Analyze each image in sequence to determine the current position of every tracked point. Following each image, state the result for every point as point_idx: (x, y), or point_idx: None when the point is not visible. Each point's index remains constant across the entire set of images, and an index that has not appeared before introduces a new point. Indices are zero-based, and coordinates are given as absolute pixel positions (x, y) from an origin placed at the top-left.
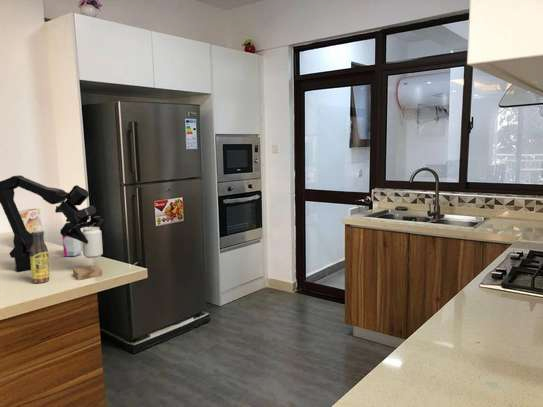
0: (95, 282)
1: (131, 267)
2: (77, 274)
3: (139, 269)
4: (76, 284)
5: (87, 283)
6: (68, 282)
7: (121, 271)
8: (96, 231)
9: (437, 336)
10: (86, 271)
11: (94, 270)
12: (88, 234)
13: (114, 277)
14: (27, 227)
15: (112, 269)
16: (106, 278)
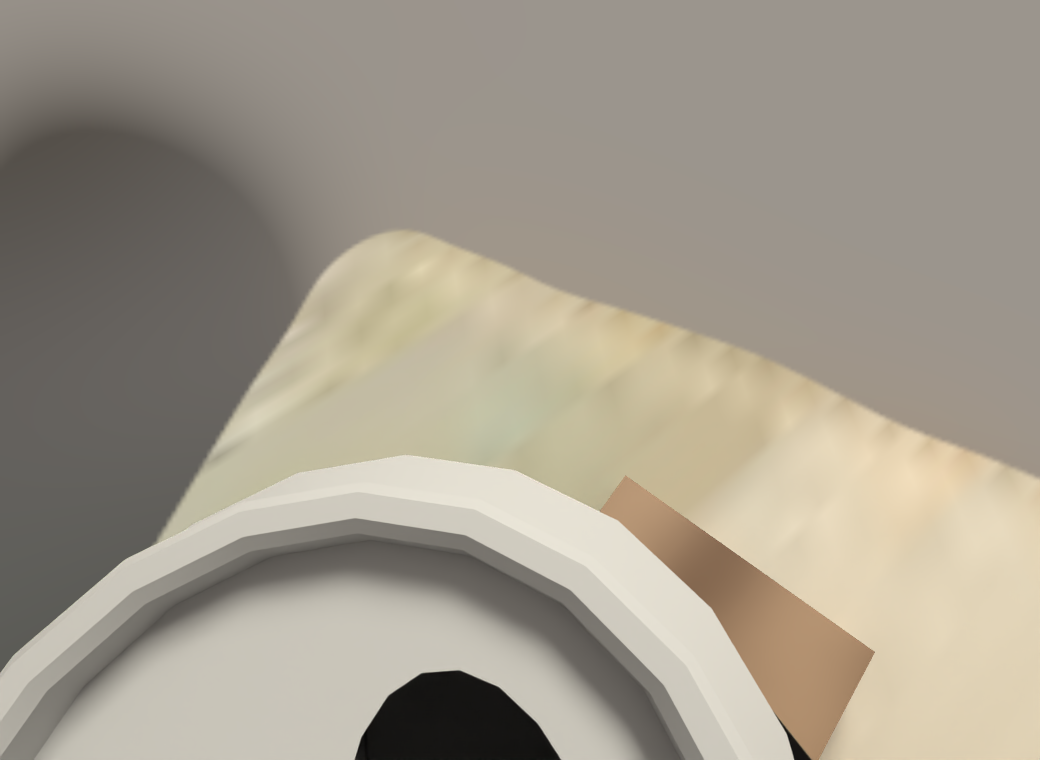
0: (823, 409)
1: (298, 380)
2: (852, 681)
3: (360, 269)
4: (954, 560)
5: (879, 466)
6: (947, 718)
7: (444, 392)
8: (492, 499)
9: None
10: (746, 619)
11: (680, 543)
12: (767, 717)
13: (636, 336)
14: None
15: None
16: (684, 389)
